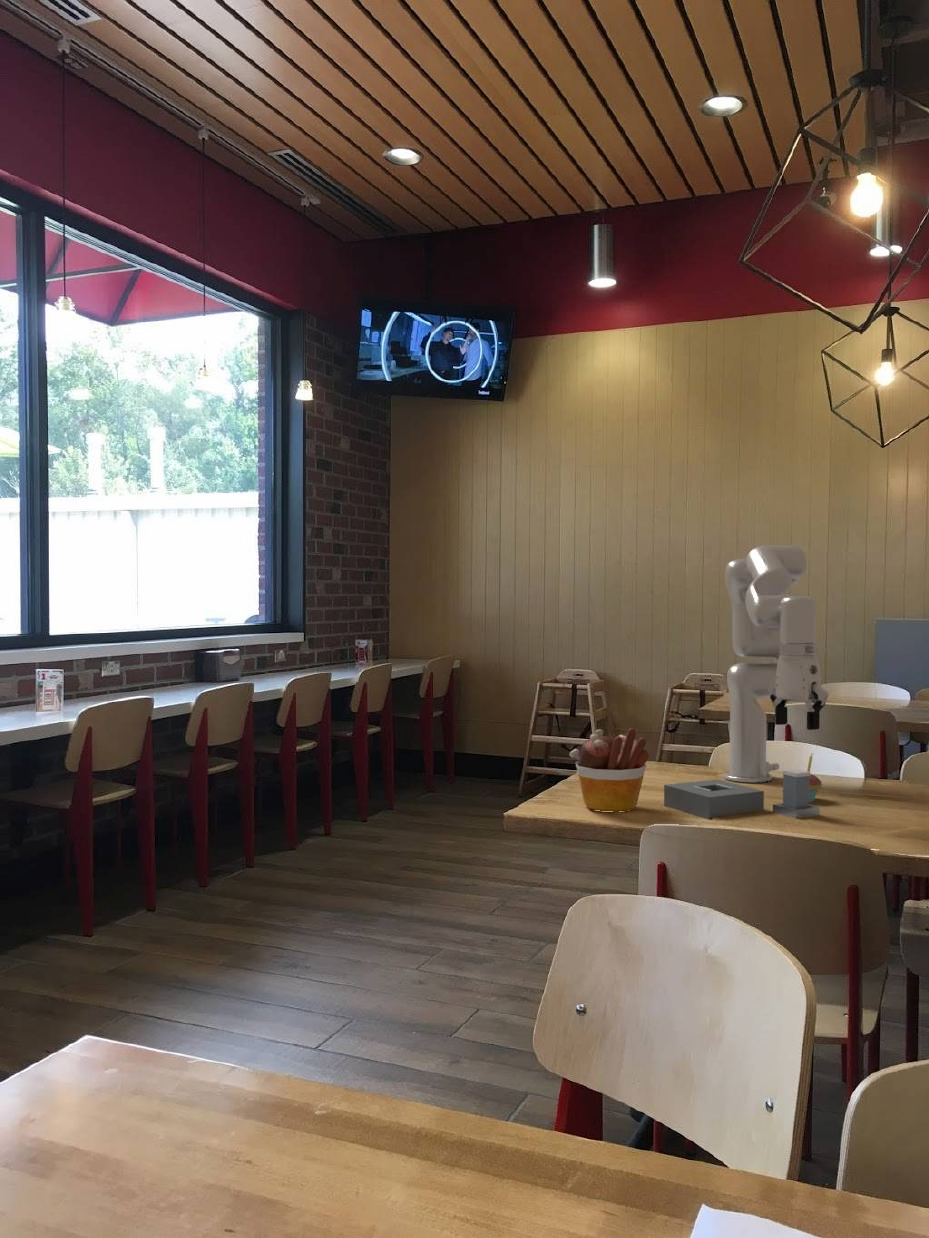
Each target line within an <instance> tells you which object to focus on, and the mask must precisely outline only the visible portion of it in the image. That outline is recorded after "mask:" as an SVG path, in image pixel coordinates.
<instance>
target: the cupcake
mask: <svg viewBox="0 0 929 1238" xmlns="http://www.w3.org/2000/svg"><path fill="white" fill-rule="evenodd" d="M812 762H813V753H810V756H809V758H808V762H807V763H808V764H807V768H806V771H807V772H810V791H809V803H810V802H814V801H815V798H816V796H817V793H818V791H819V790H821V789H822V783H823V782H822V780H820V778H819V777H817V776H816V775H814V774H811V767H812Z"/></svg>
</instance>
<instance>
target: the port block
mask: <svg viewBox="0 0 929 1238" xmlns="http://www.w3.org/2000/svg"><path fill="white" fill-rule="evenodd" d="M663 787H664V788H663V789H664V791H663V796H664V797H663V806H664V807H667V808H670V809H674V810H677V811H679V810H680V812H683V813H687V814H690V815H693V816H696V817H699V818H703V819H706V820H714V818H713V817H720V816H729V815H737V814H746V813H753V812H761V811H762V812H763V811H764V810H765V809H764V808H765V805H764V804H765V797H764V796H765V791H764V790H761V789H756V788H752V787H749V786H744V785H740V784H736V783H733V782H729V781H724V780H721V779H709V780H699V781H689V782H681V783H669V784H664V785H663Z"/></svg>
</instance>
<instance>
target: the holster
mask: <svg viewBox="0 0 929 1238" xmlns="http://www.w3.org/2000/svg"><path fill="white" fill-rule="evenodd" d="M772 813H774V814H778V815H782V816H785V817H789V818H792V819H802V818H811V817H812V818H813V817H819V816H820V815H821V812H820V806H816V805H812V804H809V808H802V809H793V808H789V807H785V806H783V802H781V803H773V804H772Z"/></svg>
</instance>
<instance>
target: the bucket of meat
mask: <svg viewBox="0 0 929 1238" xmlns="http://www.w3.org/2000/svg"><path fill="white" fill-rule="evenodd" d="M603 734H604V730H603V729H600V728H599V729H596V730H595V732H594V733H592V734H590V735H589V739H586V740H585V741H584V742H583V743H582V745H581V749H580V750H579V749H577V748H574V749H573V750H571V751H570V752H569V756H570V758H571V759H576V760H577V761H576V762H575V767H576V770H577V774H578V780H579V785H580V789H581V793H582V800H583V803H584V804H585V805H586V807H587V808H588V810H590V809H593V810H600V811H613V812H619V811H628V810H630V811H632V810H633V809H634V808H635V807H636V806H637V804H638V801H639V797H640V792H641V788H642V783H643V780H644V776H645V771H646V769H647V764H646V763H647V761H648V759H649V758H650V754H649V752H648V751H647V749H645V747H646V745H647V739H646V738H645V737H640V738H639V739H638V740H636V736H637V732H636V728H633V727H630V728H629V729H628V730H627V732H626V735H623V734H619V735H618V736H615V738H614V736H612V735H603ZM631 809H632V810H631ZM593 810H592V811H593ZM628 812H629V811H628Z"/></svg>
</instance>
